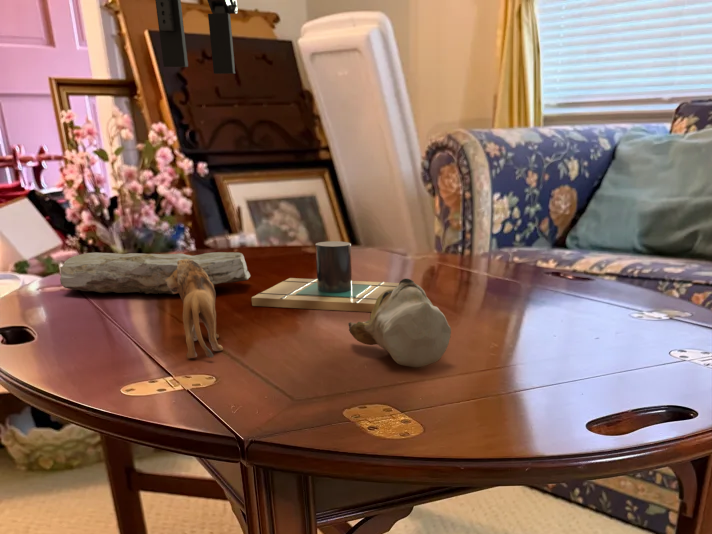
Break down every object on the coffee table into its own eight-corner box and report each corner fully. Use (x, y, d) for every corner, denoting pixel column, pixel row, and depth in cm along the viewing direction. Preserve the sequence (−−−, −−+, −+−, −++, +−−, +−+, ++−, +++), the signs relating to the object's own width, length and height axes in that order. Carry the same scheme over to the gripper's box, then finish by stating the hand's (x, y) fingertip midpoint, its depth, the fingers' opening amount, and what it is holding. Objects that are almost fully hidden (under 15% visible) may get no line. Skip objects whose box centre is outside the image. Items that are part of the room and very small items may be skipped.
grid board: (251, 305, 109) (251, 296, 109) (289, 285, 123) (289, 277, 122) (387, 313, 106) (387, 303, 105) (410, 291, 119) (411, 282, 119)
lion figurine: (171, 334, 94) (160, 257, 90) (214, 330, 96) (206, 255, 92) (189, 364, 83) (178, 278, 78) (238, 359, 84) (229, 275, 80)
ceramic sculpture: (375, 288, 74) (341, 272, 87) (377, 376, 78) (344, 348, 91) (476, 284, 77) (429, 269, 90) (473, 369, 81) (428, 343, 94)
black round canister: (312, 291, 112) (310, 245, 109) (323, 285, 116) (321, 240, 113) (347, 293, 111) (345, 246, 108) (356, 286, 115) (355, 242, 112)
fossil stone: (256, 282, 126) (253, 247, 123) (238, 300, 113) (235, 262, 110) (87, 280, 126) (80, 246, 123) (50, 298, 113) (42, 260, 110)
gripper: (153, -199, 73) (183, 63, 83) (253, -126, 94) (267, 75, 104) (82, -193, 74) (120, 63, 84) (196, -122, 95) (216, 76, 106)
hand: (201, 70), depth 94 cm, fingers open, 13 cm apart
